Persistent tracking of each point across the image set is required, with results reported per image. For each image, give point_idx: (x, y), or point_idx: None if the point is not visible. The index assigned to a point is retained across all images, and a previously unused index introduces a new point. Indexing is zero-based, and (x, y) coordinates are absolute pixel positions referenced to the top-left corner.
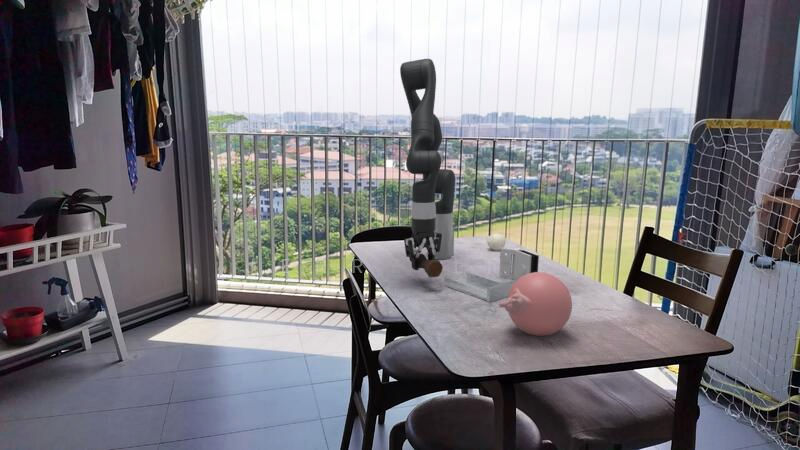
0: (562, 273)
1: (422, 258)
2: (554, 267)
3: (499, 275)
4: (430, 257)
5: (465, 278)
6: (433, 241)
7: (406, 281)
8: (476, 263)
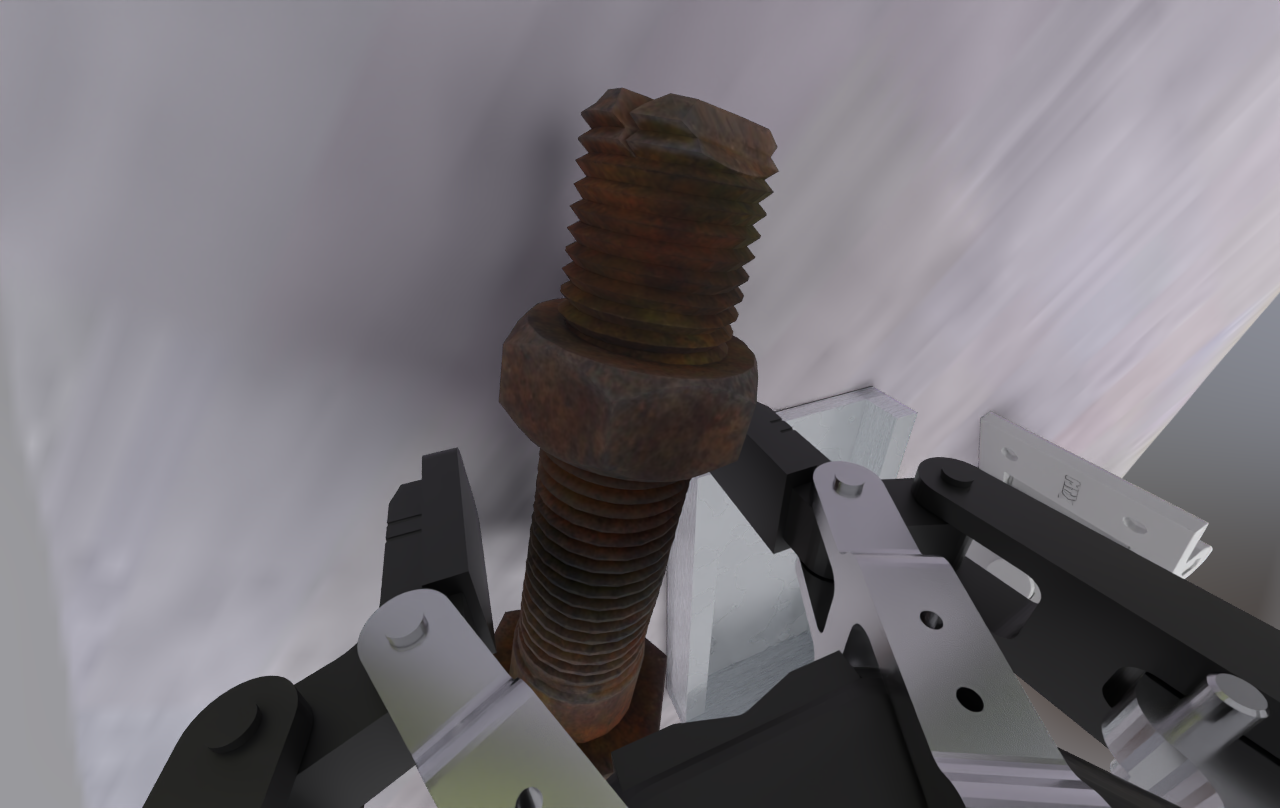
0: (1111, 463)
1: (615, 546)
2: (1179, 390)
3: (990, 423)
4: (755, 497)
5: (845, 416)
6: (1097, 597)
7: (427, 174)
8: (1197, 91)
